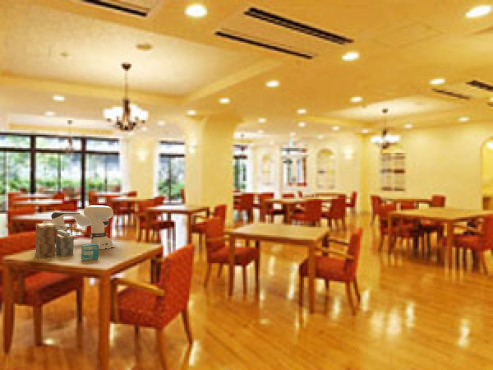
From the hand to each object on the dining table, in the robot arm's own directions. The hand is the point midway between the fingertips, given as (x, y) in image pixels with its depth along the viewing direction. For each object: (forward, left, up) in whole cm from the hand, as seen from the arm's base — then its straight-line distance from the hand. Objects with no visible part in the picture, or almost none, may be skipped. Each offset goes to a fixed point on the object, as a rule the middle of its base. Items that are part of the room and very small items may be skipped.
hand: (57, 225), depth 323 cm
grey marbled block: (+1, +24, -21) cm, 32 cm away
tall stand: (+15, +24, -21) cm, 36 cm away
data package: (-9, +56, -22) cm, 61 cm away
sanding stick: (+1, +20, -5) cm, 20 cm away
